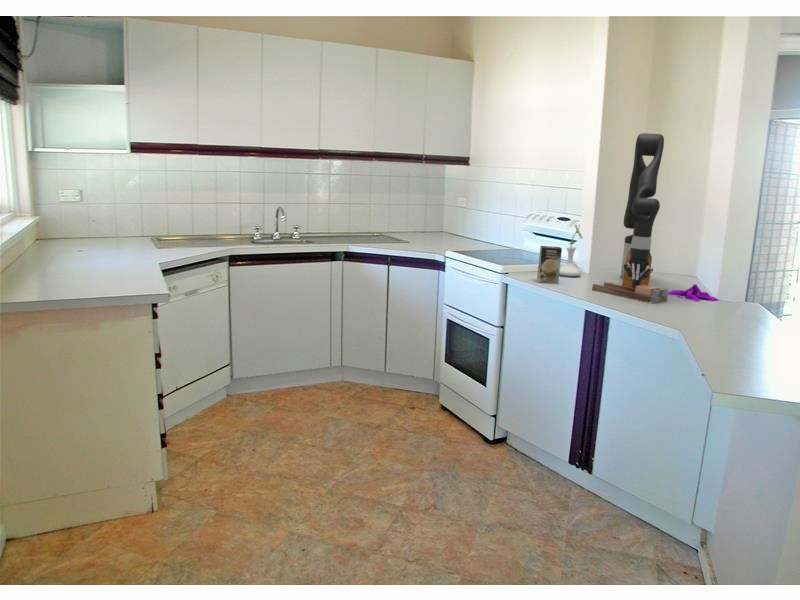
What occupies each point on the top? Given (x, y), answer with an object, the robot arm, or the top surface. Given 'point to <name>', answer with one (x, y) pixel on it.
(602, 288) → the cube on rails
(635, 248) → the robot arm
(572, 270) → the flower in vase
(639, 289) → the block
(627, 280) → the coffee package
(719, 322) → the top surface
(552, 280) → the coffee box
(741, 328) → the top surface
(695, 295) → the cloth
